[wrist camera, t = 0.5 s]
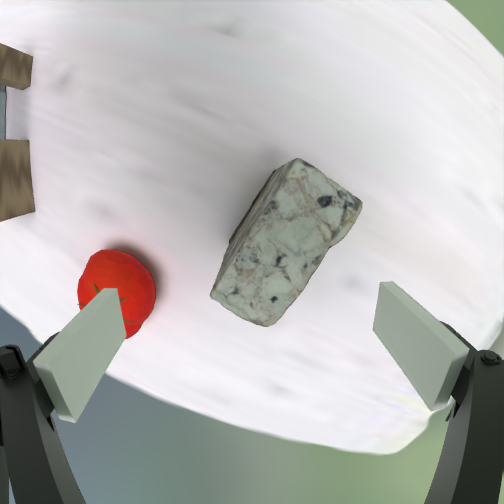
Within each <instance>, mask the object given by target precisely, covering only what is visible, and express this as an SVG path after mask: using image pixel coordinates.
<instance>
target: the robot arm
mask: <svg viewBox="0 0 504 504" xmlns="http://www.w3.org/2000/svg"><path fill="white" fill-rule="evenodd" d="M373 331H374V332H375V334H376V335H377V336H378V338H379V339H380V341H381V342H382V343H383V345H384V346H385V347H386V349H387V350H388V351H389V353H390V354H391V356H392V357H393V358H394V360H395V361H396V362H397V364H398V365H399V367H400V368H401V369H402V371H403V372H404V374H405V375H406V377H407V378H408V379H409V381H410V382H411V384H412V385H413V387H414V388H415V389H416V391H417V392H418V394H419V395H420V397H421V398H422V400H423V401H424V402H425V404H426V405H427V407H428V408H429V410H430V411H434V410H437V409H440V408H443V407H446V405H447V402H448V400H449V398H450V396H451V395H452V397H453V398H454V399H455V400H456V401H455V403H454V405H453V407H452V409H451V411H450V413H449V415H448V417H447V419H446V421H448V420H449V418H450V420H449V425H448V429H447V433H446V438H445V441H444V445H443V449H442V453H441V456H440V459H439V463H438V466H437V469H436V472H435V475H434V478H433V481H432V484H431V487H430V489H429V492H428V495H427V498H426V500H425V503H424V504H498V499H499V493H500V487H501V481H502V474H503V473H504V360H502V358H501V357H500V356H499V355H498V354H496V353H495V352H493V351H490V350H480V351H477V350H476V349H475V348H474V347H473V346H472V345H471V344H470V343H469V342H468V341H466V340H465V339H464V338H463V337H461V335H460V334H459V333H458V332H457V333H456V331H455V330H454V329H453V328H452V327H451V326H450V325H448V324H446V323H444V322H442V321H439V320H437V319H436V318H435V317H434V316H433V315H432V314H431V313H429V312H428V311H427V310H426V309H425V308H424V307H423V306H421V305H420V304H419V303H418V302H417V301H416V300H414V299H413V298H412V297H411V296H410V295H409V294H407V293H406V292H405V291H404V290H403V289H401V288H400V287H399V286H398V285H397V284H395V283H394V282H393V281H392V282H380V286H379V293H378V300H377V306H376V313H375V318H374V324H373ZM126 336H127V335H126V331H125V326H124V321H123V317H122V312H121V307H120V301H119V296H118V291H117V288H104V289H103V290H102V291H101V292H99V293H98V294H97V295H96V296H95V297H94V298H93V299H92V300H91V301H90V302H89V303H88V304H87V305H86V306H85V307H84V308H83V309H82V310H81V311H80V312H79V313H78V314H77V315H76V316H75V317H74V318H73V319H72V320H71V321H70V322H69V323H68V324H67V325H66V326H65V327H64V328H63V329H62V331H61V332H58V333H56V334H54V335H52V336H51V337H50V338H49V339H48V340H47V341H46V342H45V343H44V344H43V345H42V346H41V347H40V348H39V350H37V351H36V352H35V353H34V354H33V356H32V357H31V358H30V359H29V360H28V361H27V362H26V363H25V360H24V358H23V356H22V353H21V351H20V348H19V347H18V346H16V345H5V346H2V347H0V504H9V477H10V482H11V486H12V491H13V495H14V499H15V502H16V504H86V502H85V500H84V498H83V496H82V494H81V492H80V489H79V487H78V485H77V483H76V481H75V478H74V476H73V474H72V471H71V468H70V466H69V463H68V461H67V458H66V456H65V453H64V450H63V447H62V445H61V442H60V439H59V436H58V433H57V429H56V426H55V423H54V420H53V418H52V416H51V415H50V414H51V412H52V411H53V409H54V408H55V410H56V412H57V414H58V416H59V418H60V419H62V420H66V421H70V422H74V423H76V422H77V420H78V418H79V416H80V414H81V413H82V411H83V409H84V407H85V406H86V404H87V402H88V400H89V398H90V397H91V395H92V393H93V391H94V389H95V388H96V386H97V384H98V383H99V381H100V379H101V378H102V376H103V374H104V373H105V371H106V369H107V368H108V366H109V364H110V362H111V361H112V359H113V358H114V356H115V354H116V353H117V351H118V349H119V348H120V346H121V344H122V343H123V341H124V340H125V338H126Z"/></svg>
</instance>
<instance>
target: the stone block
mask: <svg viewBox="0 0 504 504" xmlns="http://www.w3.org/2000/svg"><path fill="white" fill-rule="evenodd" d="M361 209H362V201H361V200H360V199H358V198H357V197H355V196H353V195H352V194H351V193H350V192H348V191H347V190H345V189H344V188H342V187H341V186H340V185H339V184H337V183H336V182H334V181H332V180H331V179H329V178H327V177H326V176H325V175H324V174H323V173H322V172H321V171H320V170H318V169H317V168H315V167H314V166H312V165H310V164H309V163H307V162H306V161H304V160H302V159H299V158H296V159H294V160H292V161H291V162H288V163H287V164H285V165H283V166H281V167H280V168H279V169H278V170H274V172H273V173H272V174H271V176H270V177H269V178H268V180H267V182H266V183H265V185H264V186H263V188H262V189H261V190H260V192H259V193H258V195H257V197H256V198H255V200H254V201H253V203H252V205H251V207H250V208H249V210H248V212H247V213H246V215H245V216H244V218H243V220H242V221H241V223H240V224H239V226H238V227H237V229H236V230H235V232H234V234H233V236H232V237H231V239H230V240H229V246H228V248H227V250H226V253H225V255H224V258H223V262H222V265H221V268H220V271H219V273H218V275H217V278H216V281H215V283H214V285H213V288H212V290H211V293H210V297H211V298H212V299H214V300H216V301H218V302H220V303H221V305H222V306H223V307H225V308H226V309H228V310H230V311H231V312H233V313H234V314H235V315H237V316H239V317H240V318H242V319H244V320H247V321H249V322H252V323H254V324H256V325H260V326H264V327H268V326H271V325H273V324H275V323H276V322H277V321H278V320H279V319H280V318H281V317H282V316H283V314H284V313H285V311H286V310H287V309H288V307H289V306H290V305H291V304H292V303H293V302H294V301H295V300H296V298H297V297H298V296H299V295H300V293H301V292H302V291H303V290H304V288H305V286H306V285H307V283H308V281H309V279H310V277H311V276H312V275H313V273H314V272H315V271H316V269H317V268H318V266H319V265H320V263H321V261H322V260H323V258H324V256H325V254H326V252H327V251H328V250H329V248H331V247H332V246H334V245H336V244H337V243H338V242H340V241H341V240H342V239H343V238H344V237H345V236H346V235H347V233H348V232H349V230H350V229H351V228H352V226H353V225H354V223H355V221H356V219H357V217H358V215H359V214H360V212H361Z"/></svg>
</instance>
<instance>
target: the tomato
mask: <svg viewBox="0 0 504 504" xmlns="http://www.w3.org/2000/svg"><path fill="white" fill-rule="evenodd" d="M104 288H117V291H118V296H119V301H120V307H121V312H122V317H123V321H124V326H125V331H126V335H127V336H126V338H125V339H128V338H130V337H132V336H133V335H134V334H136V333H137V332H138V331H139V329H140V328H141V326H142V324H143V322H144V321H145V320H146V319H147V318H148V316H149V315H150V313H151V312H152V310H153V307H154V303H155V299H156V289H155V285H154V281H153V278H152V275H151V274H150V273H149V272H148V270H147V269H146V268H145V267H144V266H143V265H142V264H141V263H140V262H139V261H138V260H137V259H135V258H134V257H132V256H131V255H129V254H127V253H124V252H121V251H118V250H100V251H99V252H97V253H95V254H94V255H92V256H91V257H90V259H89V261H88V263H87V265H86V268H85V270H84V272H83V275H82V276H81V278H80V279H79V283H78V289H77V294H78V301H79V304H77V305H79V308H80V310H82V309H83V308H84V307H85V306H86V305H87V304H88V303H89V302H90V301H91V300H92V299H93V298H94V297H95V296H96V295H97V294H98V293H99V292H101V291H102V290H103V289H104Z"/></svg>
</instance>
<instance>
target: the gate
mask: <svg viewBox="0 0 504 504" xmlns="http://www.w3.org/2000/svg"><path fill="white" fill-rule="evenodd" d="M5 103H6V93H5V85H1V84H0V139H5Z"/></svg>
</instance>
